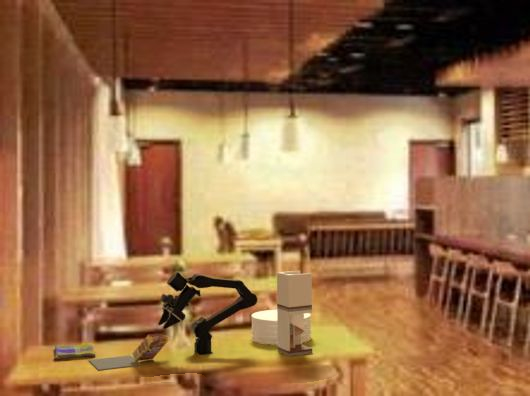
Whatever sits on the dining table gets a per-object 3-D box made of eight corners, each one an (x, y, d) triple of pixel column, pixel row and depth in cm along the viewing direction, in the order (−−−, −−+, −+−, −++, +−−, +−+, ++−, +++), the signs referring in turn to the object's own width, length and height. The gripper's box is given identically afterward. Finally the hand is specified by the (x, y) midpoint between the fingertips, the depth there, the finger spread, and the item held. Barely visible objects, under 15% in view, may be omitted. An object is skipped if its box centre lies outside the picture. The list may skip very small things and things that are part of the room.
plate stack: (312, 345, 361) (311, 320, 361) (250, 345, 362) (250, 320, 361) (309, 332, 389) (309, 309, 389) (252, 333, 390) (252, 309, 389)
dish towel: (93, 347, 364) (93, 341, 364) (95, 359, 341) (95, 353, 341) (54, 349, 360) (54, 343, 360) (53, 362, 336) (53, 356, 336)
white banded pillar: (289, 356, 340) (288, 275, 338) (277, 351, 349) (276, 272, 348) (312, 353, 345) (311, 273, 344) (300, 348, 354) (299, 270, 353)
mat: (130, 356, 344) (130, 355, 344) (141, 365, 327) (141, 364, 327) (88, 360, 336) (88, 360, 336) (98, 370, 320) (98, 369, 320)
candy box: (135, 362, 331) (151, 342, 323) (131, 353, 333) (147, 333, 325) (153, 360, 337) (169, 340, 329) (149, 351, 339) (165, 331, 331)
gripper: (165, 283, 351) (142, 311, 348) (176, 289, 333) (152, 319, 330) (184, 299, 354) (161, 327, 351) (195, 305, 337) (171, 335, 333)
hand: (161, 326), depth 341 cm, fingers open, 9 cm apart
